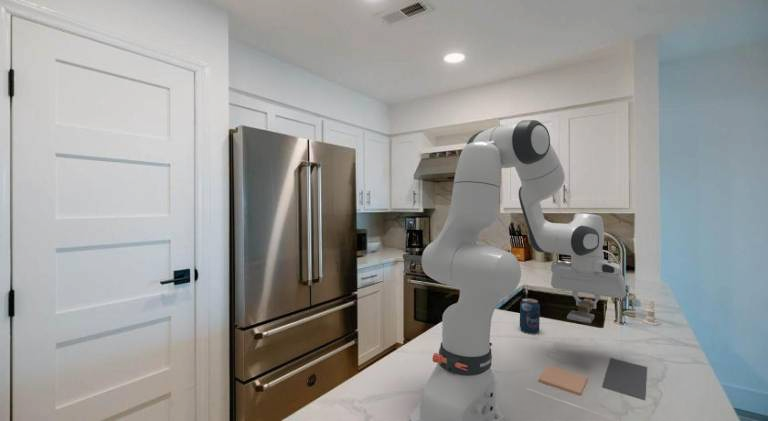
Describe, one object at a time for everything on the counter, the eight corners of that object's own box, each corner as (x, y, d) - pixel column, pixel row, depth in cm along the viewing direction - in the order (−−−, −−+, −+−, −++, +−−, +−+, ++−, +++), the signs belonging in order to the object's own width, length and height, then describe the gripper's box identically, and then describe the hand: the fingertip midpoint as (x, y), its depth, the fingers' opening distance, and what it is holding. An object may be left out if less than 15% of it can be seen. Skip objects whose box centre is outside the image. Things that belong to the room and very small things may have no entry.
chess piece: (662, 325, 134) (663, 300, 134) (649, 325, 134) (650, 300, 134) (652, 321, 139) (652, 296, 139) (639, 320, 139) (640, 296, 139)
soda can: (529, 335, 122) (530, 303, 122) (515, 329, 128) (516, 298, 128) (543, 333, 125) (544, 301, 124) (529, 326, 131) (529, 296, 131)
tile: (587, 383, 90) (580, 400, 82) (547, 371, 97) (538, 385, 89) (587, 377, 90) (580, 393, 82) (548, 365, 97) (538, 379, 89)
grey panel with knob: (590, 323, 93) (590, 315, 93) (566, 318, 97) (567, 310, 97) (599, 308, 107) (599, 301, 107) (578, 304, 111) (578, 297, 111)
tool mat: (645, 402, 81) (645, 400, 81) (601, 389, 86) (601, 387, 86) (647, 369, 98) (647, 367, 98) (610, 359, 103) (610, 357, 103)
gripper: (548, 261, 109) (548, 302, 109) (625, 269, 96) (624, 316, 96) (553, 258, 114) (552, 298, 114) (626, 266, 101) (625, 311, 101)
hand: (586, 306), depth 105 cm, fingers closed on grey panel with knob, 2 cm apart
